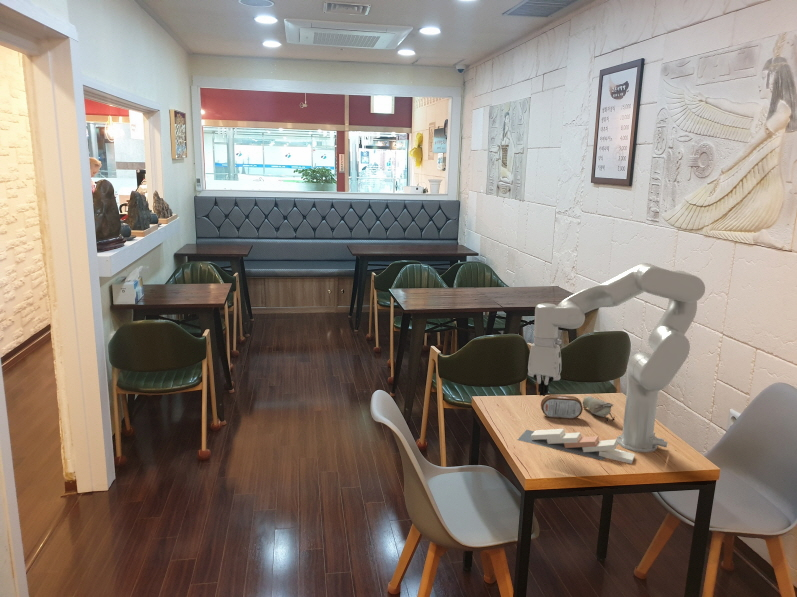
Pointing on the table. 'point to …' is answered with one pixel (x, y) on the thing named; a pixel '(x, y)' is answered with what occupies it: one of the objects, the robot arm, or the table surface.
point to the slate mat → (558, 446)
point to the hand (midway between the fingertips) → (543, 394)
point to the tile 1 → (548, 434)
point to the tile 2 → (566, 438)
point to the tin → (561, 406)
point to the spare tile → (584, 442)
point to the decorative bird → (598, 407)
